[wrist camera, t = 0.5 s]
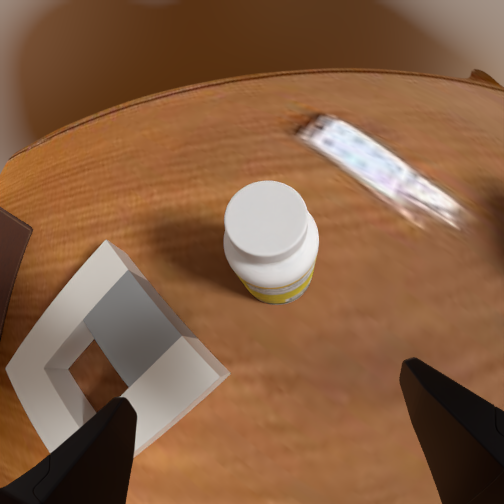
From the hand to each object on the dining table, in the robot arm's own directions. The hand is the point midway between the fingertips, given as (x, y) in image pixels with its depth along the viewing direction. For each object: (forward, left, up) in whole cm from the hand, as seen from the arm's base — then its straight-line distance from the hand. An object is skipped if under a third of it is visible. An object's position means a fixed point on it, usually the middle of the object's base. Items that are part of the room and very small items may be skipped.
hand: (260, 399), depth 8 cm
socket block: (+9, +12, -13) cm, 20 cm away
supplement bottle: (+5, -5, -13) cm, 15 cm away
